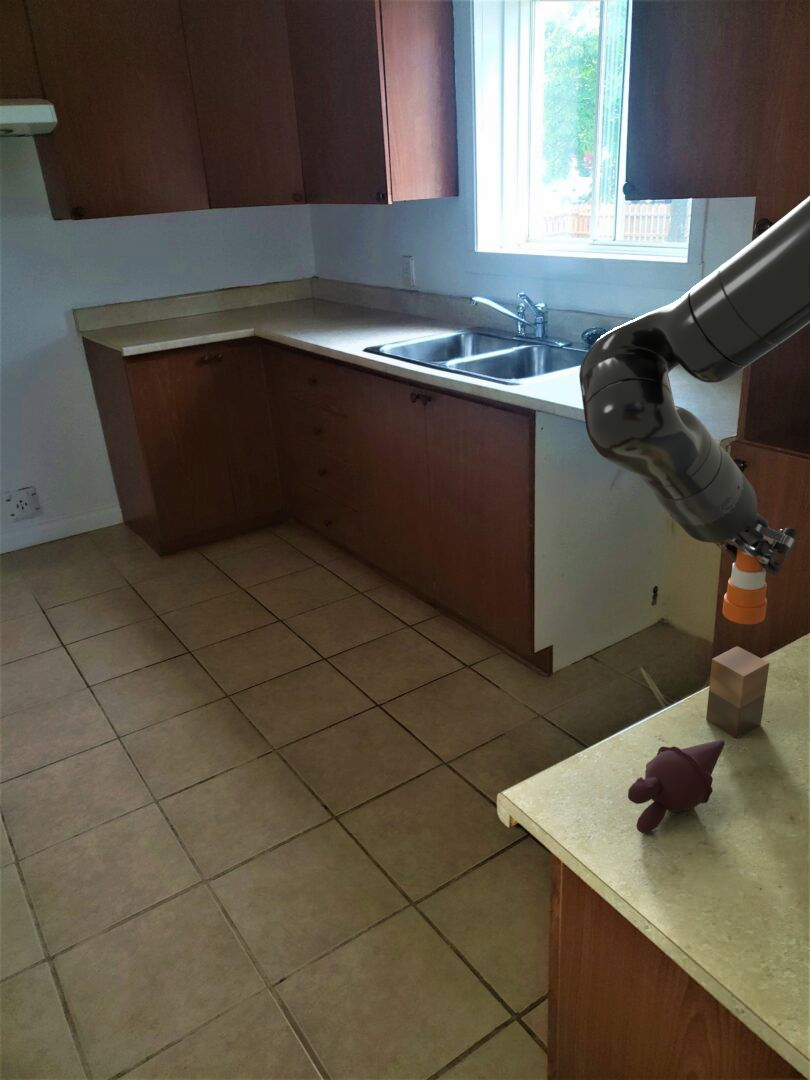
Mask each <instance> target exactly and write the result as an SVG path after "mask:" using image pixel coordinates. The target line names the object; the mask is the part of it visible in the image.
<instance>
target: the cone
mask: <svg viewBox="0 0 810 1080" xmlns="http://www.w3.org/2000/svg"><path fill="white" fill-rule="evenodd" d="M766 574H767V571H766V570H765V569H764V568H763V566H762V565H761V564H760V563H759V561H758V560H757V559H756V558H755V557H752V556H749V555H745V554H743V553H742V552H741V551H740V550H739V549H737V557H736V561H734V562H733V563H732V567H731V575H730V577H729V579H728V582H727V589H726V590H727V591H726V593H725V594H724V596H723V604H722V614H723V616H724V617H725V618H726V619H727V620H729V621H730V622H733V623H736V624H739V625H757V624H760V623H762V622H763V621H764V620H765V619H766V616H767V615H766V614H767V606H768V599H767V595H766V594H767V588H768V583H767V582H766V577H767V575H766Z"/></svg>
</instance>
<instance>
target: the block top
mask: <svg viewBox="0 0 810 1080" xmlns="http://www.w3.org/2000/svg"><path fill="white" fill-rule="evenodd" d="M769 670H770V662H769V661H767V660H765V659H763V658H761V657H759V656H757V655H756V654H754V653H752V652H749V651H748V650H746V649H744V648H742V647H741V646H738V645H737V646H735V647H733V648H731V649H729V650H727V651H725V652H723V653H721V654H719V655H717V656H715V657H713V658H711V667H710V676H709V685H708V686H709V687H708V691H709V690H710V691H712V692H713V693H715V694H717V695H719V696H720V697H722V698H724V699H725V700H727V701H729V702H731V703H732V704H734V705H736V706H737V707H739V708H741V707H743V706H745V705H747V704H748V703H750V702H752V701H754V700H756V699H757V698H759V697H761V696H763V695H764V694H765V695H766V690H767V685H768V677H769Z"/></svg>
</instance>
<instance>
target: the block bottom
mask: <svg viewBox="0 0 810 1080" xmlns="http://www.w3.org/2000/svg"><path fill="white" fill-rule="evenodd" d="M765 696H766V693H765V694H764V695H763V696H761V697H759V698H757V699H756V700H754V701H752V702H750V703H748V704H747V705H745V706H743V707H741V708H739V707H737V706H736V705H734V704H732V703H731V702H729V701H727V700H725V699H724V698H722V697H720V696H719V695H717V694H715V693H713V692H712V691H710V690H709V689H708V696H707V706H706V716H705V720H706V721H708V723H710V724H712V725H713V726H714V727H717V728H718V729H720V730H721V731H723V732H725V733H726V734H727V735H729V736H731V737H733V738H734V739H738V738H741V737H742V736H743V735H746V734H747V733H748V732H750V731H753V730H754V729H756V728H758V727H759V726H760V725H762V718H763V711H764V706H765V705H764V704H765V698H766V697H765Z"/></svg>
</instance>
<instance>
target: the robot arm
mask: <svg viewBox="0 0 810 1080" xmlns="http://www.w3.org/2000/svg"><path fill="white" fill-rule="evenodd" d="M809 324H810V195H808V196H807V197H806V198H805V199H804V200H803V201H801V202H800V203H798V204H797V205H796V206H795V207H794V208H792V209H791V210H790V211H788V212H787V213H786V214H785V215H783V216H781V218H780V219H778V220H777V221H775V222H774V223H773V224H771V225H770V226H769V227H768V228H767V229H766V230H765V231H762V233H760V234H759V235H758V236H756V237H755V238H754V239H753V240H751V241H750V242H749V243H748V244H746V245H744V247H742V248H741V249H740V250H739V251H737V252H736V253H734V254H733V255H732V256H730V258H728V259H727V260H726V261H724V262H723V263H721V265H719V266H717V268H716V269H715V270H713V271H712V272H711V273H710V274H708V275H707V276H706V277H705V278H703V279H702V280H700V281H699V282H698V283H697V284H696V285H694V286H693V287H692V288H691V289H690V290H688V291H686V293H685V294H683V295H682V296H681V298H678V299H677V300H675V301H674V302H673V301H672V302H671V303H669V304H666V305H664V306H661V307H659V308H656V309H655V310H652V311H650V312H647V313H646V314H644V315H641V316H639V317H637V318H635V319H633V320H630V321H628V322H626V323H624V324H622V325H620V326H617V327H614V328H613V329H612V330H611V329H610V331H608V332H606V333H605V334H603V335H601V336H600V338H598V339H597V340H596V341H595V342H594V343H593V344H592V345H591V346H590V348H589V349H588V350H587V352H586V354H585V355H584V356H583V359H582V360H581V363H580V366H579V374H578V377H579V386H580V393H581V400H582V408H583V414H584V424H585V428H586V429H585V430H586V432H587V435H588V438H589V440H590V442H591V444H592V446H593V447H594V448H595V450H596V451H597V453H598V454H599V455H600V456H601V458H603V459H604V460H606V461H607V462H610V463H612V464H614V465H616V466H618V467H620V468H622V469H624V470H626V471H628V472H631V473H633V474H636V475H638V477H639V478H640V480H642V482H643V483H645V485H646V486H647V487H648V488H649V489H650V490H651V491H652V493H653V494H654V497H655V498H656V500H657V501H658V502H659V504H660V505H661V506H662V508H663V509H664V510H665V511H666V512H667V513H668V514H669V516H670V517H671V518H672V519H673V520H674V521H675V522H676V523H677V524H678V525H679V526H680V527H681V528H682V530H684V531H685V532H686V533H687V535H689V536H690V537H691V538H692V539H694V540H696V541H698V542H703V543H710V544H711V543H712V544H715V546H717V547H718V548H719V549H720V550H724V551H727V553H728V554H729V555H730V556H731V557H732V559H734V562H736V557H737V549H739V550H740V551H741V552H742V553H743V554H745V555H749V556H752V557H755V558H756V559H757V560H758V561H759V563H760V564H761V565H762V566H763V568H764V569H765V570H766V573H767V574H770V575H773V576H775V575H776V574H777V573H780V572H781V570H782V569H783V567H784V565H785V563H786V561H787V559H788V557H789V555H790V553H791V552H792V550H793V548H794V547H795V543H796V541H797V538H798V536H799V535H798V534H799V532H798V531H797V530H796V529H794V528H791V527H785V528H784V529H782V528H780V529H779V530H775V529H773V528H770V526H769V524H770V523H769V522H768V520H767V519H766V518H765V517H764V516H762V515H760V514H759V513H758V499H757V494H756V492H755V489H754V487H753V486H752V484H751V483H750V481H749V480H748V478H746V476H745V474H744V473H743V472H742V470H741V469H740V468H739V466H738V464H737V463H736V462H735V461H734V459H733V458H732V457H731V455H730V454H729V453H728V451H727V450H726V449H724V448H723V447H722V446H721V445H720V444H718V442H717V441H716V440H715V438H714V437H713V436H712V434H711V433H710V432H709V430H708V429H707V427H706V426H705V425H704V424H703V422H702V421H701V420H700V419H699V418H698V417H697V416H696V415H695V414H694V413H692V412H691V411H690V410H688V409H686V408H685V407H681V406H677V405H675V400H674V396H673V391H672V386H671V381H670V375H669V373H670V372H671V371H672V370H673V369H675V367H677V366H679V365H680V367H682V369H683V370H684V371H685V372H686V373H688V374H689V375H690V376H691V377H693V378H694V379H696V380H698V381H700V382H702V383H708V384H715V383H720V382H722V381H725V380H727V379H728V378H731V377H732V376H734V375H735V374H737V373H739V372H741V371H742V370H743V369H745V368H746V367H749V365H751V364H752V363H754V362H755V361H757V360H759V359H760V358H761V357H763V356H764V355H766V354H767V353H768V352H770V351H772V350H773V349H774V348H776V347H777V346H779V345H780V344H782V343H784V342H785V341H787V340H788V339H789V338H791V337H792V336H793V335H795V334H796V333H798V332H799V331H800V330H802V329H803V328H805V327H806V326H807V325H809Z"/></svg>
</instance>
